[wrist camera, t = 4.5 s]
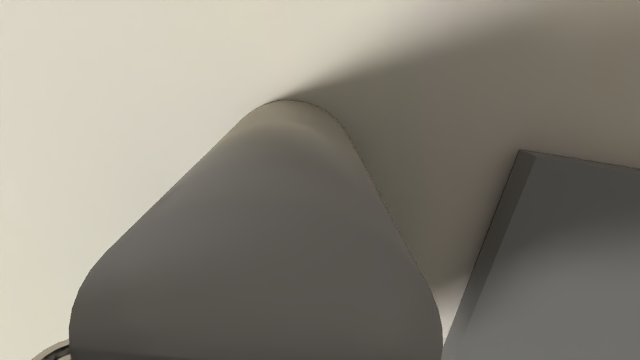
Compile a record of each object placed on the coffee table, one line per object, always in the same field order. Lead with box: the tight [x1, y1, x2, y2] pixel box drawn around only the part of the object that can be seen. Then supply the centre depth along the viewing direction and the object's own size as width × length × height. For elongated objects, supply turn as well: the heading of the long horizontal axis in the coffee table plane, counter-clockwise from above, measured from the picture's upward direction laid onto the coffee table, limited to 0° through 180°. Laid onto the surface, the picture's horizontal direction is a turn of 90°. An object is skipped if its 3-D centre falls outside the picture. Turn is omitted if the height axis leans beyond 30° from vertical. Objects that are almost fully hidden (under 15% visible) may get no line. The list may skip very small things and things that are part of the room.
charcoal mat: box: [441, 150, 640, 360], centre depth 13 cm, size 12×14×1 cm
